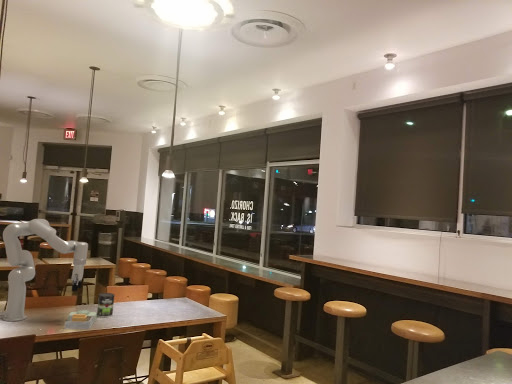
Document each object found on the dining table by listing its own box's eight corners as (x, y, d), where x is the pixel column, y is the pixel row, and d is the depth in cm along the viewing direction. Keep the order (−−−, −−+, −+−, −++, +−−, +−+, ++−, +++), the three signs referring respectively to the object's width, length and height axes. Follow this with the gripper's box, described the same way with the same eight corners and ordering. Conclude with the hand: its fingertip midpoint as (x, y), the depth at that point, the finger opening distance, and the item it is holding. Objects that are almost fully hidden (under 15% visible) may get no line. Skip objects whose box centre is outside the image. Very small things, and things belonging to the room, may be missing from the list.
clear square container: (64, 328, 238) (65, 321, 238) (69, 321, 252) (70, 315, 252) (89, 328, 241) (90, 321, 242) (93, 322, 255) (94, 315, 256)
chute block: (71, 325, 243) (72, 315, 244) (72, 323, 248) (73, 313, 248) (85, 325, 245) (86, 315, 246) (86, 323, 250) (87, 313, 250)
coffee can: (113, 317, 270) (115, 296, 270) (97, 318, 265) (99, 296, 265) (111, 312, 279) (113, 292, 279) (95, 313, 274) (97, 293, 274)
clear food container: (67, 322, 251) (68, 313, 252) (70, 318, 260) (71, 309, 261) (94, 322, 255) (94, 313, 255) (96, 318, 264) (97, 310, 264)
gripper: (76, 259, 258) (73, 286, 258) (69, 263, 242) (66, 292, 241) (88, 260, 260) (85, 287, 259) (83, 264, 243) (79, 292, 242)
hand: (76, 289), depth 250 cm, fingers open, 9 cm apart
